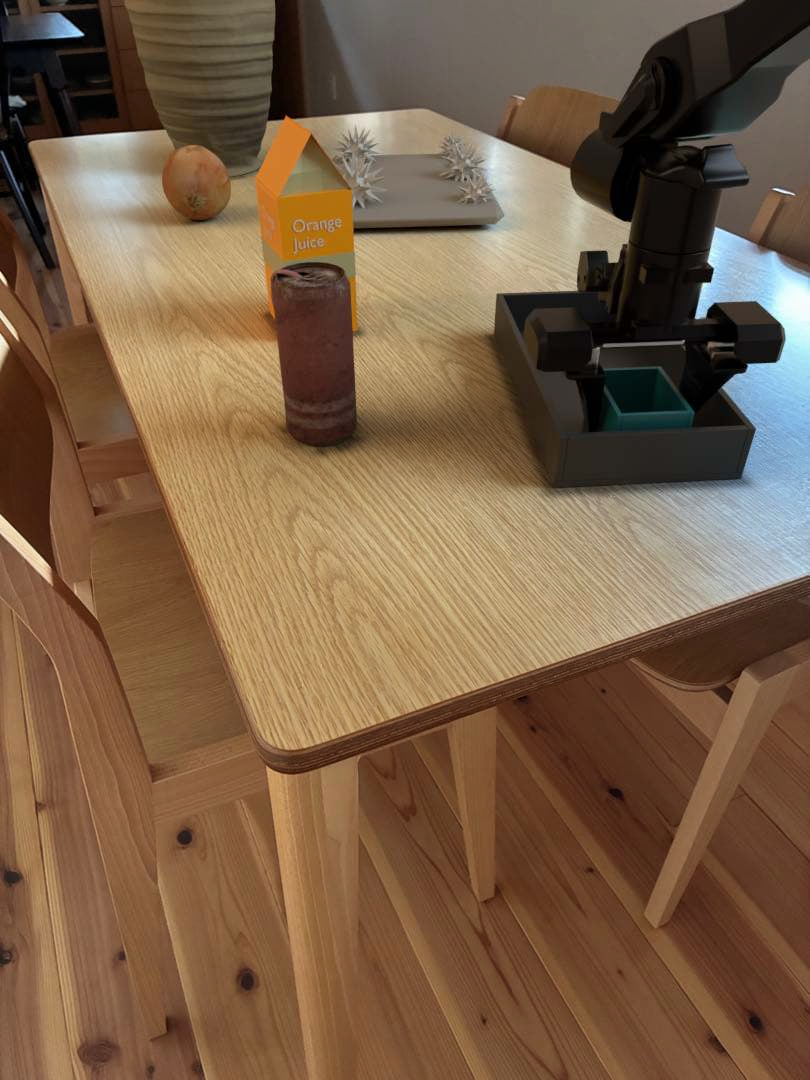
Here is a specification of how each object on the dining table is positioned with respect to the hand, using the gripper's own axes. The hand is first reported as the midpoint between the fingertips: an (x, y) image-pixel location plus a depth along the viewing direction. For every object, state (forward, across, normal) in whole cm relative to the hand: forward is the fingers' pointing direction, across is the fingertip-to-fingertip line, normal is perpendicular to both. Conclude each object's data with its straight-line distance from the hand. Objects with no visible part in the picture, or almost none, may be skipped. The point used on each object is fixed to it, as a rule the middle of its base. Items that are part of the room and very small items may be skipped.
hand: (632, 432), depth 67 cm
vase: (+2, +44, -100) cm, 110 cm away
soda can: (+2, +26, -6) cm, 27 cm away
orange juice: (+2, +27, -30) cm, 40 cm away
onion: (+2, +44, -70) cm, 82 cm away
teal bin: (+1, 0, 0) cm, 1 cm away
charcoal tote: (+2, 0, -10) cm, 10 cm away
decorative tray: (+2, +13, -76) cm, 78 cm away
